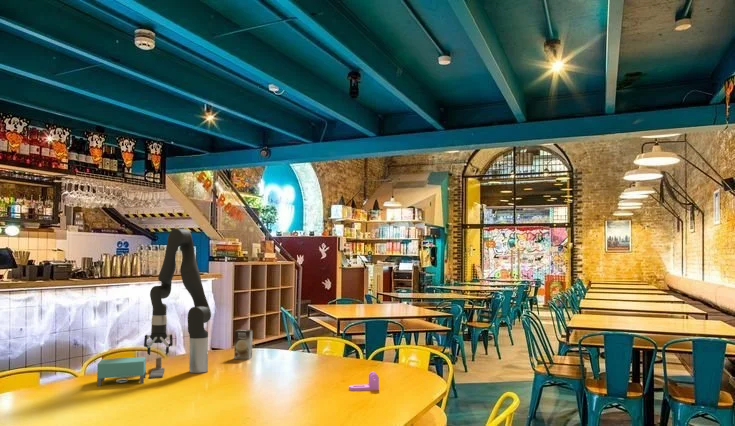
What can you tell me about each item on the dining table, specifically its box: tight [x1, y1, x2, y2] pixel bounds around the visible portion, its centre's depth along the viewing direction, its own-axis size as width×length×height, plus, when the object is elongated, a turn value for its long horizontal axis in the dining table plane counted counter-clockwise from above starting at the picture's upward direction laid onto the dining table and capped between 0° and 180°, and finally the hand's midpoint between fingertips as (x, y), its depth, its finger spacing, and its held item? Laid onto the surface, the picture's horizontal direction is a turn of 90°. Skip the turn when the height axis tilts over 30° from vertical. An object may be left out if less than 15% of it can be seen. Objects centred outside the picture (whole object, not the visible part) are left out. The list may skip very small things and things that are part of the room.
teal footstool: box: [96, 356, 147, 387], centre depth 282 cm, size 20×13×10 cm, turn 106°
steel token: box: [115, 378, 129, 384], centre depth 282 cm, size 5×5×1 cm
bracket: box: [348, 371, 380, 392], centre depth 264 cm, size 13×6×7 cm, turn 97°
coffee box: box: [233, 328, 253, 360], centre depth 341 cm, size 9×6×16 cm
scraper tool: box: [149, 355, 165, 380], centre depth 303 cm, size 28×6×6 cm, turn 16°
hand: (158, 354), depth 313 cm, fingers open, 8 cm apart
